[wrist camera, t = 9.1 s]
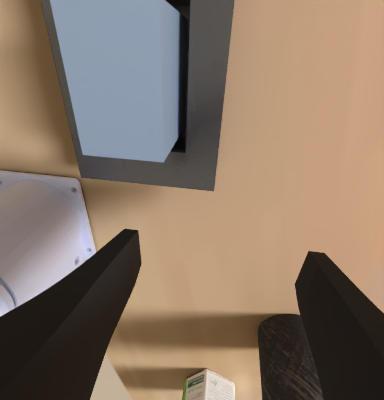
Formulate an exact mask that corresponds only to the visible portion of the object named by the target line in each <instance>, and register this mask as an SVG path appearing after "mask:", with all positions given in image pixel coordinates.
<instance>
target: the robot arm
mask: <svg viewBox="0 0 384 400" xmlns="http://www.w3.org/2000/svg"><path fill="white" fill-rule="evenodd" d="M73 187H74V188H75V189H76V190H75V189H74V188H73ZM86 259H88V260H86ZM85 260H86V261H85ZM140 267H141V255H140V244H139V234H138V230H130V229H124V230H123V231H121V232H120V233H119V234H118V235H117V236H115V237H114V238H113V239H112V240H111V241H110V242H108V243H107V244H106V245H105V246H104V247H102V248H101V249H100V250H99V251H98V252H96V249H95V245H94V241H93V236H92V232H91V228H90V224H89V219H88V215H87V211H86V207H85V202H84V198H83V194H82V190H81V185H80V182H79V181H78V180H77V179H76V178H70V177H61V176H51V175H41V174H32V173H22V172H12V171H3V170H0V400H90V397H91V394H92V391H93V388H94V385H95V382H96V379H97V376H98V373H99V370H100V367H101V364H102V361H103V359H104V356H105V353H106V350H107V347H108V344H109V342H110V340H111V337H112V335H113V332H114V330H115V328H116V326H117V324H118V321H119V319H120V317H121V315H122V313H123V310H124V308H125V306H126V304H127V301H128V299H129V297H130V295H131V292H132V290H133V288H134V286H135V283H136V280H137V277H138V273H139V270H140ZM295 288H296V295H297V301H298V307H299V311H300V315H301V318H302V321H303V325H304V328H305V332H306V335H307V338H308V342H309V345H310V349H311V352H312V355H313V359H314V362H315V365H316V369H317V373H318V377H319V380H320V385H321V390H322V395H323V400H384V313H383V312H382V311H380V310H379V309H378V308H377V307H376V306H375V305H374V304H373V303H372V302H371V301H370V300H369V299H368V298H367V297H366V296H365V295H364V294H363V293H362V292H361V291H360V290H359V289H358V288H357V287H356V286H355V284H354V283H353V282H352V281H351V280H350V279H349V278H348V277H347V276H346V275H345V274H344V273H343V272H342V271H341V270H340V269H339V268H338V267H337V266H336V265H335V264H334V262H333V261H332V260H331V259H330V258H329V257H328V256H327V255H326V254H325V253H320V252H311V251H309V252H308V254H307V256H306V259H305V261H304V264H303V266H302V268H301V271H300V273H299V276H298V278H297V280H296V283H295Z"/></svg>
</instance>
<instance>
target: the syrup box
mask: <svg viewBox="0 0 384 400" xmlns="http://www.w3.org/2000/svg"><path fill="white" fill-rule="evenodd" d="M182 400H235V385H234V383H233V382H232V381H230V380H228V379H227V378H225V377H223V376H221V375H219V374H217V373H215V372H213V371H211V370H208V369H204V371H202V372H200V373H198V374H195V375H193V376H191V377H189V378H186V379H185V381H184V389H183V397H182Z"/></svg>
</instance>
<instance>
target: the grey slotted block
mask: <svg viewBox="0 0 384 400" xmlns="http://www.w3.org/2000/svg"><path fill="white" fill-rule="evenodd" d="M165 1H166V2H168V3H169V4H170V5H171V6H172V7H174V8H175V9H176V10H177V11H178V12H180V13H181V14H182V15H183V16H184V17H185V18H187V30H186V69H185V108H184V129H183V131H182V133H181V134H180V136H179V138H178V139H177V141H176V143H175V144H174V146H173V148H172V149H171V151H170V153H169V154H168V156H167V158H166V159H165V161H164V163H163V162H153V161H142V160H131V159H121V158H110V157H100V156H89V155H83V154H82V149H81V145H80V140H79V135H78V130H77V126H76V121H75V116H74V112H73V107H72V102H71V97H70V93H69V88H68V83H67V79H66V74H65V69H64V64H63V60H62V55H61V50H60V46H59V41H58V36H57V31H56V27H55V22H54V17H53V13H52V8H51V3H50V0H41V4H42V8H43V13H44V17H45V21H46V26H47V30H48V34H49V39H50V43H51V48H52V52H53V56H54V61H55V65H56V69H57V74H58V78H59V83H60V87H61V91H62V96H63V100H64V105H65V109H66V113H67V118H68V122H69V126H70V131H71V135H72V140H73V144H74V148H75V153H76V157H77V161H78V166H79V170H80V175H81V178H91V179H101V180H110V181H120V182H130V183H139V184H149V185H159V186H168V187H178V188H188V189H198V190H207V191H214V185H215V176H216V167H217V158H218V148H219V139H220V130H221V120H222V111H223V102H224V92H225V83H226V73H227V64H228V55H229V45H230V36H231V27H232V17H233V8H234V0H165Z"/></svg>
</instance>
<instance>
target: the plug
mask: <svg viewBox="0 0 384 400" xmlns="http://www.w3.org/2000/svg"><path fill="white" fill-rule="evenodd" d="M50 3H51V8H52V13H53V17H54V22H55V27H56V31H57V36H58V41H59V46H60V50H61V55H62V60H63V64H64V69H65V74H66V79H67V83H68V88H69V93H70V97H71V102H72V107H73V112H74V116H75V121H76V126H77V130H78V135H79V140H80V145H81V149H82V154H83V155H89V156H100V157H110V158H121V159H131V160H142V161H153V162H163V163H164V161H165V159H166V158H167V156H168V154H169V153H170V151H171V149H172V148H173V146H174V144H175V143H176V141H177V139H178V138H179V136H180V134H181V133H182V131H183V129H184V108H185V69H186V30H187V18H185V17H184V16H183V15H182V14H181V13H180V12H178V11H177V10H176V9H175V8H174V7H172V6H171V5H170V4H169V3H168V2H166V1H165V0H50Z"/></svg>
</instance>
